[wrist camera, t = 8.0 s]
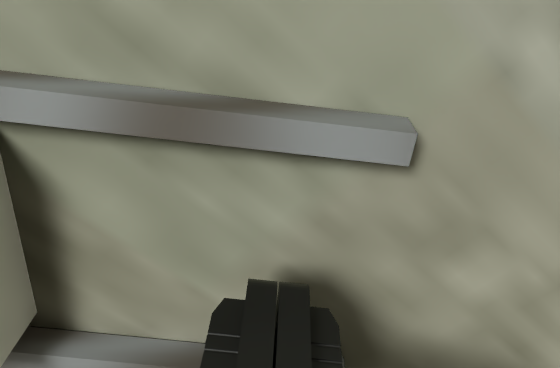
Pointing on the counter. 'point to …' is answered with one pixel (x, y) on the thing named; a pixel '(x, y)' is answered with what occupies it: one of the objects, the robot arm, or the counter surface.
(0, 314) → the cream rectangular block
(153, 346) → the overhang
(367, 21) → the counter surface
